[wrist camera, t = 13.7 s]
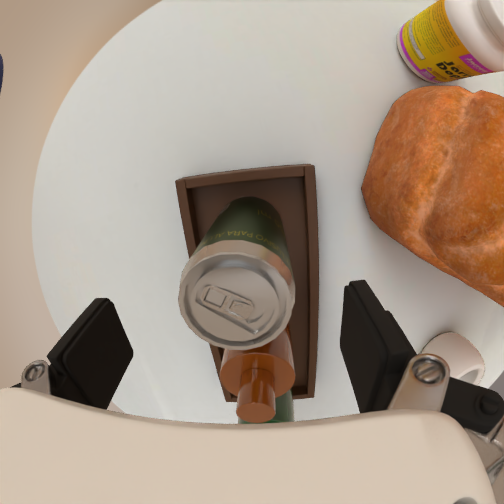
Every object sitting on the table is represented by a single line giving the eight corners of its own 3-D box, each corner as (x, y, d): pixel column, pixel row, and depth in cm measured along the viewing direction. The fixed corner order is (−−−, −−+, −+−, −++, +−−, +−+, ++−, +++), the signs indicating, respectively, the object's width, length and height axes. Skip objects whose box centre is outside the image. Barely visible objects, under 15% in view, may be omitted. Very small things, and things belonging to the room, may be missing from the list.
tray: (227, 389, 31) (226, 402, 29) (182, 177, 22) (174, 180, 20) (312, 385, 30) (314, 397, 28) (310, 163, 21) (314, 165, 19)
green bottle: (246, 381, 30) (238, 470, 18) (240, 351, 28) (228, 448, 16) (290, 379, 29) (296, 469, 18) (289, 348, 27) (297, 447, 16)
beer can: (208, 241, 23) (160, 326, 12) (233, 183, 21) (196, 225, 10) (265, 266, 24) (263, 367, 13) (293, 211, 22) (321, 281, 11)
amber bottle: (237, 331, 27) (221, 432, 15) (229, 286, 25) (204, 388, 14) (288, 327, 26) (298, 430, 15) (286, 282, 24) (299, 385, 13)
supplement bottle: (404, 82, 17) (503, 51, 5) (385, 20, 15) (458, -40, 3) (456, 87, 16) (550, 77, 5) (439, 30, 14) (518, -4, 2)
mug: (438, 316, 26) (469, 358, 19) (470, 330, 27) (497, 365, 19) (383, 384, 30) (399, 429, 23) (420, 389, 31) (437, 427, 24)
